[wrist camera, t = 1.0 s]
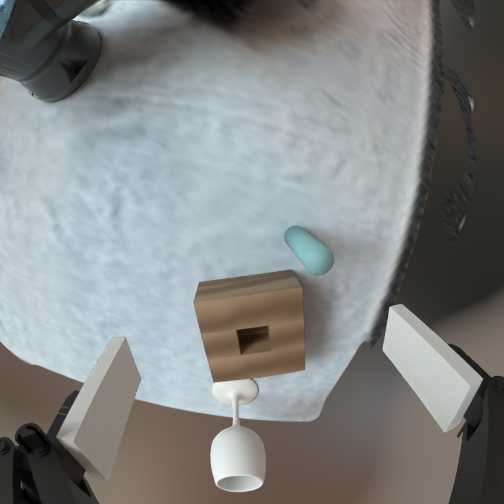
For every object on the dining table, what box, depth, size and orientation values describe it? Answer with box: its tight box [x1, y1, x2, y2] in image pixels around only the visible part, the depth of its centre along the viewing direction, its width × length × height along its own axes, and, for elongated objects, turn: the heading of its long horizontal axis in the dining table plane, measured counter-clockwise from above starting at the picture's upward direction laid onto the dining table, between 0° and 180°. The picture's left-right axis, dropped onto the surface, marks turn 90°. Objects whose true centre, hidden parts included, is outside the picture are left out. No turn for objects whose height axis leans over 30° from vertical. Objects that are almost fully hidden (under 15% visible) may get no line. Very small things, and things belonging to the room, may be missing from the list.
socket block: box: [194, 270, 305, 383], centre depth 40 cm, size 14×14×7 cm
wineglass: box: [211, 379, 266, 492], centre depth 38 cm, size 9×9×21 cm
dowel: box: [284, 226, 334, 275], centre depth 35 cm, size 3×3×12 cm
